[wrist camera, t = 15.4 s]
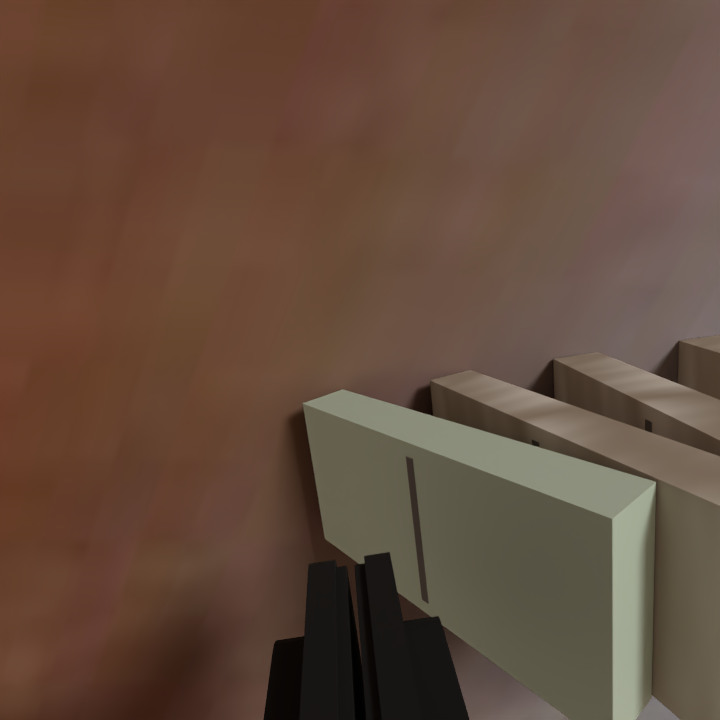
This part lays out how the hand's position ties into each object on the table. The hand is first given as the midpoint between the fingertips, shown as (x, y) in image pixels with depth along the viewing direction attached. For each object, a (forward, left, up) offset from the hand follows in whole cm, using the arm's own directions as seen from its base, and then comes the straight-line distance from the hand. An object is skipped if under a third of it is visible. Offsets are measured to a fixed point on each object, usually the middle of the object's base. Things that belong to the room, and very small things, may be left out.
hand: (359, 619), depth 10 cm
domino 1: (0, 0, -7) cm, 7 cm away
